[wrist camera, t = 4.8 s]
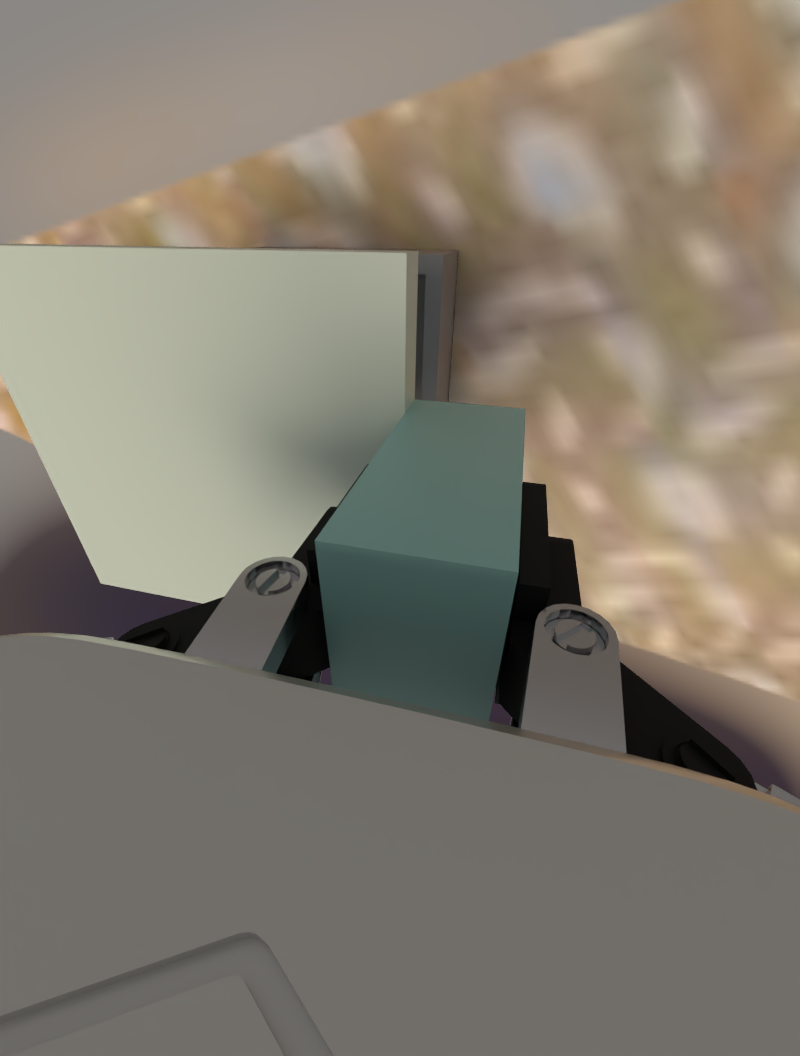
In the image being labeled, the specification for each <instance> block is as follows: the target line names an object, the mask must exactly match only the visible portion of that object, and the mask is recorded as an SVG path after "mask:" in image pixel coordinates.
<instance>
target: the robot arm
mask: <svg viewBox="0 0 800 1056" xmlns="http://www.w3.org/2000/svg"><path fill="white" fill-rule="evenodd" d="M368 465H369V464H367V465H366V467H367V466H368ZM366 467H365V468H364V470H365V469H366ZM364 470H363V471H362V472H361V474H362V473H363V472H364ZM361 474H360V475H359V477H360V476H361ZM359 477H358V478H357V479H356V481H357V480H358V479H359ZM356 481H355V482H354V484H355V483H356ZM354 484H353V485H352V486H351V488H352V487H353V486H354ZM351 488H350V489H349V491H350V490H351ZM349 491H348V492H347V493H346V495H345V496H344V498H345V497H346V496H347V494H348V493H349ZM344 498H343V499H342V500H341V502H340V503H339V505H340V504H341V503H342V501H343V500H344ZM339 505H338V506H337V507H330V508H329V509H328V510H327V511H326V512H325V514H324V515H323V516H322V518H321V519H320V520H319V522H318V523H317V525H316V526H315V527H314V529H313V530H312V531H311V533H310V534H309V535H308V537H307V538H306V539H305V541H304V542H303V543H302V545H301V546H300V547H299V549H298V550H297V552H296V553H295V554H294V556H293V557H292V558H289V557H271V558H265V559H262V560H260V561H257V562H254V563H253V564H251V565H250V566H248V567H246V568H245V569H244V570H243V572H242V573H241V574H240V575H239V576H238V578H237V579H236V581H235V582H234V584H233V585H232V586H231V588H230V589H229V591H228V592H227V594H226V595H225V596H224V597H221V598H218V599H215V600H212V601H209V602H207V603H204V604H201V605H198V606H195V607H192V608H189V609H186V610H183V611H180V612H177V613H174V614H171V615H168V616H165V617H162V618H159V619H156V620H153V621H150V622H147V623H145V624H142V625H140V626H138V627H135V628H133V629H132V630H130V631H129V632H127V633H125V634H124V635H122V636H121V637H120V638H119V639H118V640H114V639H113V637H109V638H98V637H91V636H85V635H73V634H60V633H22V634H14V635H5V636H0V1056H800V800H799V799H797V798H796V797H794V796H792V795H790V794H789V793H787V792H785V791H784V790H782V789H780V788H778V787H777V786H775V785H773V784H772V785H771V786H770V788H769V789H768V790H767V789H765V788H763V787H762V786H760V785H758V784H756V783H755V782H754V780H753V778H752V775H751V774H750V772H749V771H748V770H747V768H746V767H745V766H744V764H743V763H742V761H741V760H740V759H739V758H738V757H737V756H736V755H735V754H734V753H733V752H732V751H731V750H729V749H728V748H727V747H726V746H725V745H724V744H722V743H721V742H720V741H719V740H717V739H716V738H715V737H713V736H712V735H711V734H710V733H709V732H708V731H706V730H705V729H704V728H703V727H701V726H700V725H699V724H697V723H696V722H695V721H694V720H692V719H691V718H690V717H689V716H687V715H686V714H685V713H684V712H682V711H681V710H680V709H679V708H677V707H676V706H675V705H673V704H672V703H671V702H670V701H669V700H667V699H666V698H665V697H664V696H662V695H661V694H660V693H659V692H657V691H656V690H655V689H654V688H652V687H651V686H650V685H648V684H647V683H646V682H645V681H644V680H642V679H641V678H640V677H639V676H637V675H636V674H635V673H634V672H632V671H631V670H630V669H629V668H627V667H626V666H625V665H624V664H622V663H621V662H620V656H619V642H618V638H617V634H616V632H615V630H614V629H613V627H612V626H611V625H610V623H609V622H608V621H606V620H605V619H604V618H603V617H602V616H601V615H599V614H597V613H595V612H593V611H592V610H590V609H587V608H584V607H582V606H581V599H580V591H579V583H578V575H577V568H576V560H575V552H574V544H573V541H572V540H571V539H564V538H557V537H550V536H548V518H547V498H546V485H545V484H536V483H528V482H523V484H522V503H521V527H520V550H519V573H518V578H517V583H516V588H515V593H514V598H513V603H512V608H511V613H510V618H509V623H508V628H507V633H506V638H505V643H504V648H503V653H502V658H501V663H500V668H499V673H498V678H497V683H496V697H495V703H497V704H501V705H502V706H503V708H504V709H505V710H506V711H507V712H508V713H509V714H510V715H511V717H512V719H511V724H510V726H507V725H503V724H498V723H494V722H489V721H485V720H481V719H477V718H472V717H468V716H464V715H459V714H455V713H450V712H446V711H442V710H437V709H433V708H428V707H424V706H419V705H415V704H411V703H406V702H402V701H397V700H393V699H388V698H384V697H379V696H375V695H370V694H366V693H361V692H357V691H352V690H348V689H343V688H339V687H334V686H330V685H325V684H320V683H319V682H320V678H321V671H322V670H324V669H327V668H330V663H329V655H328V647H327V639H326V630H325V622H324V614H323V606H322V597H321V589H320V581H319V573H318V565H317V556H316V548H315V539H316V538H317V536H318V535H319V534H320V532H321V531H322V529H323V528H324V527H325V525H326V524H327V522H328V521H329V519H330V518H331V517H332V515H333V514H334V512H335V511H336V510H337V508H338V507H339Z"/></svg>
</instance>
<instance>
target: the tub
mask: <svg viewBox="0 0 800 1056" xmlns="http://www.w3.org/2000/svg"><path fill="white" fill-rule="evenodd" d="M257 248H274V249H331V250H388V251H419V252H418V290H417V329H416V368H415V400H427V401H439V402H448V400H449V385H450V370H451V356H452V341H453V326H454V312H455V297H456V282H457V268H458V253H459V250H412V249H350V248H288V247H257Z"/></svg>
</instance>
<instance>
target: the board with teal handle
mask: <svg viewBox="0 0 800 1056" xmlns="http://www.w3.org/2000/svg"><path fill="white" fill-rule="evenodd" d="M418 252H419V251H388V250H331V249H274V248H217V247H160V246H103V245H46V244H0V374H1V376H2V379H3V381H4V383H5V385H6V387H7V389H8V391H9V393H10V395H11V397H12V399H13V401H14V404H15V406H16V408H17V410H18V412H19V414H20V416H21V418H22V420H23V422H24V424H25V426H26V429H27V431H28V433H29V435H30V437H31V439H32V441H33V443H34V445H35V447H36V449H37V451H38V454H39V455H40V458H41V460H42V462H43V464H44V466H45V468H46V470H47V472H48V474H49V476H50V479H51V481H52V482H53V485H54V487H55V489H56V491H57V493H58V495H59V497H60V499H61V501H62V503H63V506H64V507H65V510H66V512H67V514H68V516H69V518H70V520H71V522H72V524H73V526H74V529H75V530H76V533H77V535H78V537H79V539H80V541H81V543H82V545H83V547H84V549H85V551H86V554H87V556H88V558H89V560H90V562H91V564H92V566H93V568H94V570H95V572H96V574H97V576H98V578H99V581H100V582H101V583H102V584H107V585H112V586H117V587H122V588H127V589H132V590H137V591H142V592H147V593H153V594H157V595H163V596H168V597H173V598H178V599H183V600H188V601H193V602H199V603H203V604H204V603H207V602H209V601H212V600H215V599H218V598H221V597H224V596H225V595H226V594H227V592H228V591H229V589H230V588H231V586H232V585H233V584H234V582H235V581H236V579H237V578H238V576H239V575H240V574H241V573H242V572H243V570H244V569H245V568H246V567H248V566H250V565H251V564H253V563H254V562H257V561H260V560H262V559H265V558H271V557H289V558H292V557H293V556H294V554H295V553H296V552H297V550H298V549H299V547H300V546H301V545H302V543H303V542H304V541H305V539H306V538H307V537H308V535H309V534H310V533H311V531H312V530H313V529H314V527H315V526H316V525H317V523H318V522H319V520H320V519H321V518H322V516H323V515H324V514H325V512H326V511H327V510H328V509H329V508H330V507H337V506H338V505H339V503H340V502H341V500H342V499H343V498H344V496H345V495H346V493H347V492H348V491H349V489H350V488H351V486H352V485H353V484H354V482H355V481H356V479H357V478H358V477H359V475H360V474H361V472H362V471H363V470H364V468H365V467H366V465H367V464H369V465H368V466H367V467H366V469H365V470H364V472H363V473H362V474H361V476H360V477H359V479H358V480H357V481H356V483H355V484H354V486H353V487H352V488H351V490H350V491H349V493H348V494H347V496H346V497H345V498H344V500H343V501H342V503H341V504H340V505H339V507H338V508H337V510H336V511H335V512H334V514H333V515H332V517H331V518H330V519H329V521H328V522H327V524H326V525H325V527H324V528H323V529H322V531H321V532H320V534H319V535H318V536H317V538H316V539H315V548H316V556H317V565H318V573H319V581H320V589H321V597H322V606H323V614H324V622H325V630H326V639H327V647H328V655H329V663H330V671H331V680H332V686H334V687H339V688H343V689H348V690H352V691H357V692H361V693H366V694H370V695H375V696H379V697H384V698H388V699H393V700H397V701H402V702H406V703H411V704H415V705H419V706H424V707H428V708H433V709H437V710H442V711H446V712H450V713H455V714H459V715H464V716H468V717H472V718H477V719H481V720H485V721H489V718H490V712H491V708H492V702H493V698H494V693H495V688H496V683H497V678H498V673H499V668H500V663H501V658H502V653H503V648H504V643H505V638H506V633H507V628H508V623H509V618H510V613H511V608H512V603H513V598H514V593H515V588H516V583H517V578H518V573H519V550H520V527H521V503H522V480H523V456H524V433H525V409H521V408H509V407H498V406H486V405H474V404H462V403H451V402H439V401H427V400H415V368H416V329H417V290H418Z"/></svg>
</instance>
